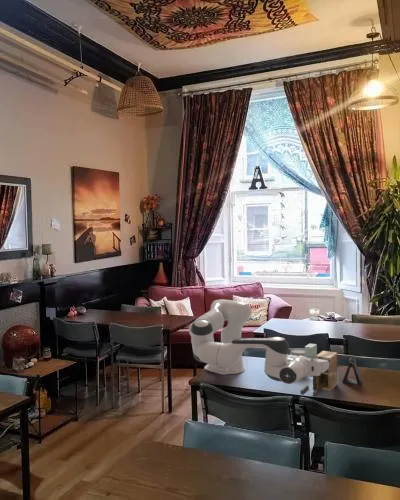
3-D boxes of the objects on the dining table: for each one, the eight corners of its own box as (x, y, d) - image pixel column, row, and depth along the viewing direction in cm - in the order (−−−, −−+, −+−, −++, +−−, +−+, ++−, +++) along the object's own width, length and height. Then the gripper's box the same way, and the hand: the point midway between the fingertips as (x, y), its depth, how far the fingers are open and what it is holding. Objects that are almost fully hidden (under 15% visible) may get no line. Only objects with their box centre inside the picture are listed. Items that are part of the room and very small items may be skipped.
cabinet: (300, 393, 215) (300, 359, 214) (315, 380, 232) (315, 349, 231) (323, 397, 209) (323, 363, 208) (337, 384, 226) (336, 352, 225)
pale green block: (305, 375, 214) (304, 346, 213) (310, 371, 220) (309, 343, 219) (312, 377, 212) (312, 347, 211) (317, 373, 218) (316, 344, 217)
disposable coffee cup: (308, 376, 239) (308, 353, 238) (290, 375, 241) (290, 353, 240) (308, 370, 248) (307, 349, 248) (290, 369, 250) (290, 348, 250)
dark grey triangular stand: (342, 382, 228) (342, 359, 228) (343, 379, 234) (343, 356, 233) (361, 385, 225) (361, 361, 224) (362, 381, 230) (362, 357, 229)
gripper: (279, 369, 210) (291, 361, 222) (322, 376, 199) (332, 368, 211) (279, 355, 210) (290, 349, 222) (322, 362, 199) (332, 354, 210)
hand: (311, 358), depth 216 cm, fingers closed on pale green block, 3 cm apart
